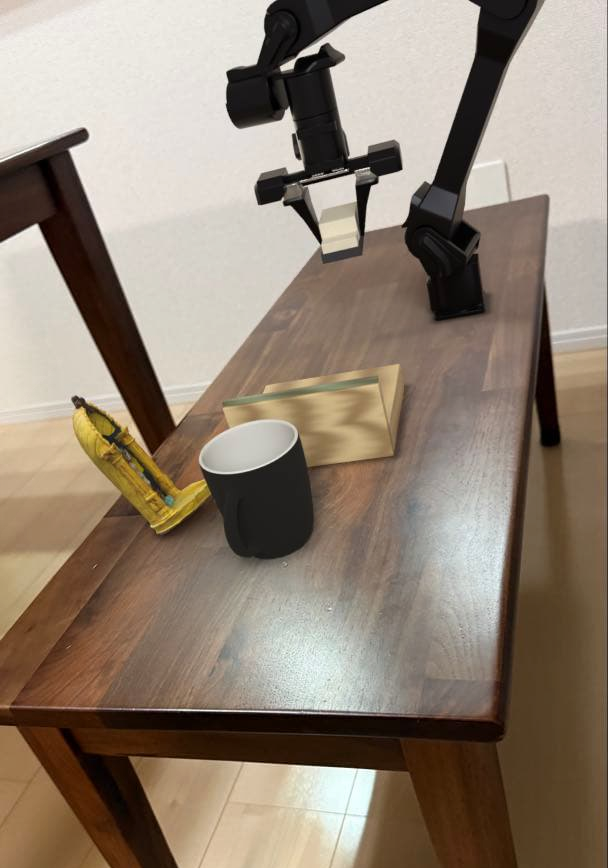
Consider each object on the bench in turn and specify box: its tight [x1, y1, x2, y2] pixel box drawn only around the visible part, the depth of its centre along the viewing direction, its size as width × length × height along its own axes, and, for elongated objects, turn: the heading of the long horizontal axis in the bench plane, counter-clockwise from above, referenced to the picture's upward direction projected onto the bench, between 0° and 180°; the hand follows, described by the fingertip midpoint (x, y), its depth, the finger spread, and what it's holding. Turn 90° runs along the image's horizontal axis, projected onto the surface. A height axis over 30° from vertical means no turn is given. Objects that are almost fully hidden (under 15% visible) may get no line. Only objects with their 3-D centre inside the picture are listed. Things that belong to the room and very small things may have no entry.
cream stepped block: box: [318, 201, 365, 265], centre depth 111 cm, size 5×10×4 cm, turn 175°
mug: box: [198, 419, 315, 560], centre depth 74 cm, size 12×9×10 cm
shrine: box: [70, 394, 212, 536], centre depth 81 cm, size 12×8×15 cm
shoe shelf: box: [221, 363, 405, 468], centre depth 91 cm, size 16×15×9 cm
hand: (342, 239), depth 112 cm, fingers closed on cream stepped block, 5 cm apart
